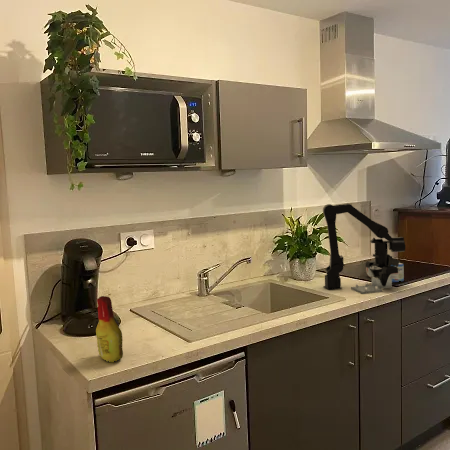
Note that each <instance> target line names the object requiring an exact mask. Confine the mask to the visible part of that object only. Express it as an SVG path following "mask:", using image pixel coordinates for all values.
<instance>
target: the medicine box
mask: <svg viewBox="0 0 450 450" xmlns="http://www.w3.org/2000/svg"><path fill="white" fill-rule="evenodd" d="M391 266H393V265H391ZM395 267H396V266H395ZM397 268H398V273H394V274H390V275H389V277H391V278H392V283H399V281H401V282H404V281H405V279H404V278H405V274H404V273H405V272H404V268H405V267H404V263H401V262H399V265H398V267H397Z"/></svg>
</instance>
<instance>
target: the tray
mask: <svg viewBox="0 0 450 450" xmlns="http://www.w3.org/2000/svg"><path fill="white" fill-rule="evenodd" d="M350 289H351V290H352V291H355V292H357V293H360V294H361V295H365V294H373V293H381V292H382V293H383V289H380V288H377V286H372V284H369V283H368V282H364V285H359V283H355V285H354V286H350Z"/></svg>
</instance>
